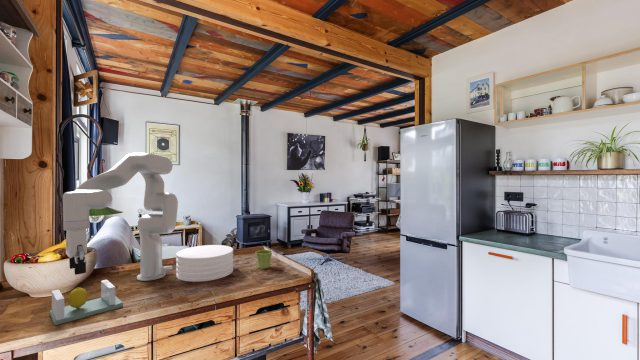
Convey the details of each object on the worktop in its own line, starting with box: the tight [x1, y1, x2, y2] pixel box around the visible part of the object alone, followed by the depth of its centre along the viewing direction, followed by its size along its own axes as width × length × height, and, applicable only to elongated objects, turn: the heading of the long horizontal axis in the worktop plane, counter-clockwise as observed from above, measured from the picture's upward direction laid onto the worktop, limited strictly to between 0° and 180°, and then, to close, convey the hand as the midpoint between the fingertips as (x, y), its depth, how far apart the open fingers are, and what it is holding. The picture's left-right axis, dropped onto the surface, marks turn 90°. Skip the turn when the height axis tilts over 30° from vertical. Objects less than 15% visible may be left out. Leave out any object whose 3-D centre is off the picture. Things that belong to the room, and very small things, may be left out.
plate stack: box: [175, 244, 234, 282], centre depth 159 cm, size 28×28×12 cm
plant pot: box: [254, 249, 273, 270], centre depth 167 cm, size 9×9×9 cm
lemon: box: [68, 286, 88, 309], centre depth 112 cm, size 6×6×8 cm
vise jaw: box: [100, 279, 116, 306], centre depth 118 cm, size 2×12×7 cm, turn 48°
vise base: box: [49, 289, 124, 326], centre depth 114 cm, size 20×12×8 cm, turn 138°
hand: (77, 270), depth 111 cm, fingers open, 9 cm apart
